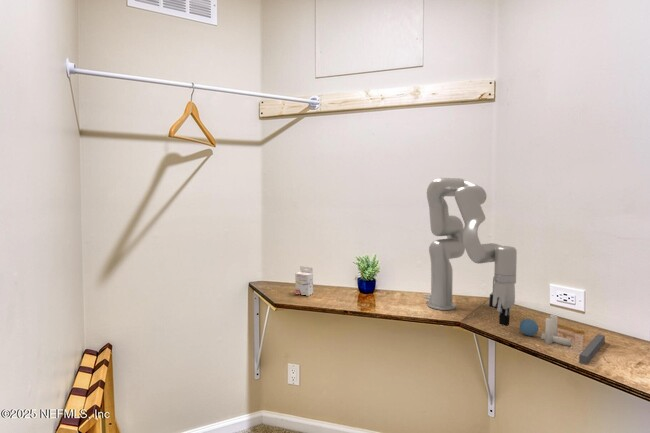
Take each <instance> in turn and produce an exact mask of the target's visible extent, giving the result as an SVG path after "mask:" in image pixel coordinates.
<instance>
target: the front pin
mask: <svg viewBox="0 0 650 433" xmlns="http://www.w3.org/2000/svg"><path fill="white" fill-rule="evenodd" d="M540 339H541V340H543V341H545V332H542V333H541V335H540ZM553 343H556V344H559V345H563V346H567V347H571V344H572V340H571V339H569V338H564V337H560V336H558V335H557V336H553Z"/></svg>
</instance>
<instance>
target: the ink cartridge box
mask: <svg viewBox="0 0 650 433" xmlns="http://www.w3.org/2000/svg"><path fill="white" fill-rule="evenodd" d="M299 267H300V269H299V270H300V271H298V272H295V275H294V276H295V278H294V280H295V283H294V284H295V286H294V287H295V294H296V293H300V294H305V295H310V294H312V293H313V294H314V273H313V267H309V266H299Z"/></svg>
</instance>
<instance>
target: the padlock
mask: <svg viewBox="0 0 650 433" xmlns="http://www.w3.org/2000/svg"><path fill="white" fill-rule="evenodd" d="M494 284H495V281H494V276H493V278H492V291H491V293H490V294H489V300H488V307H489V308H493V291H494ZM497 307H498V306H497ZM497 307H494V309H497Z"/></svg>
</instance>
